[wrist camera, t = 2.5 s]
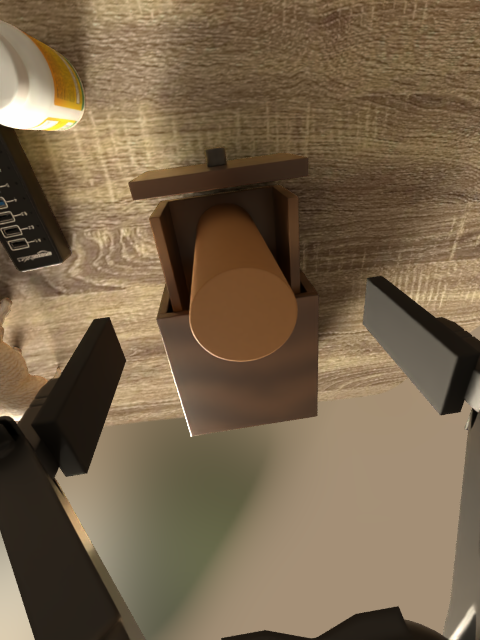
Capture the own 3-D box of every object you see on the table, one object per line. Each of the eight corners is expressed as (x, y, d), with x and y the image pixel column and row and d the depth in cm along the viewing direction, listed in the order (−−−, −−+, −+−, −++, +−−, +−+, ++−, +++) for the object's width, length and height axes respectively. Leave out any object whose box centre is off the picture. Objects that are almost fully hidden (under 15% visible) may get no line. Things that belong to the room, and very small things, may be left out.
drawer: (141, 156, 27) (122, 162, 21) (284, 136, 27) (308, 137, 21) (178, 306, 34) (173, 344, 28) (290, 289, 35) (309, 323, 28)
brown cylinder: (190, 207, 28) (178, 276, 15) (252, 198, 28) (296, 259, 15) (202, 266, 31) (200, 369, 17) (257, 257, 31) (299, 353, 18)
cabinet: (167, 276, 33) (155, 319, 26) (292, 257, 34) (319, 294, 26) (193, 379, 41) (191, 436, 33) (296, 363, 41) (317, 416, 33)
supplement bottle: (68, 145, 27) (7, 150, 18) (2, 94, 25) (-101, 74, 16) (100, 86, 25) (48, 62, 17) (31, 26, 23) (-67, -36, 15)
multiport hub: (-11, 76, 24) (-31, 70, 22) (73, 255, 31) (64, 263, 29) (-68, 87, 24) (-92, 83, 22) (30, 264, 31) (18, 273, 29)
